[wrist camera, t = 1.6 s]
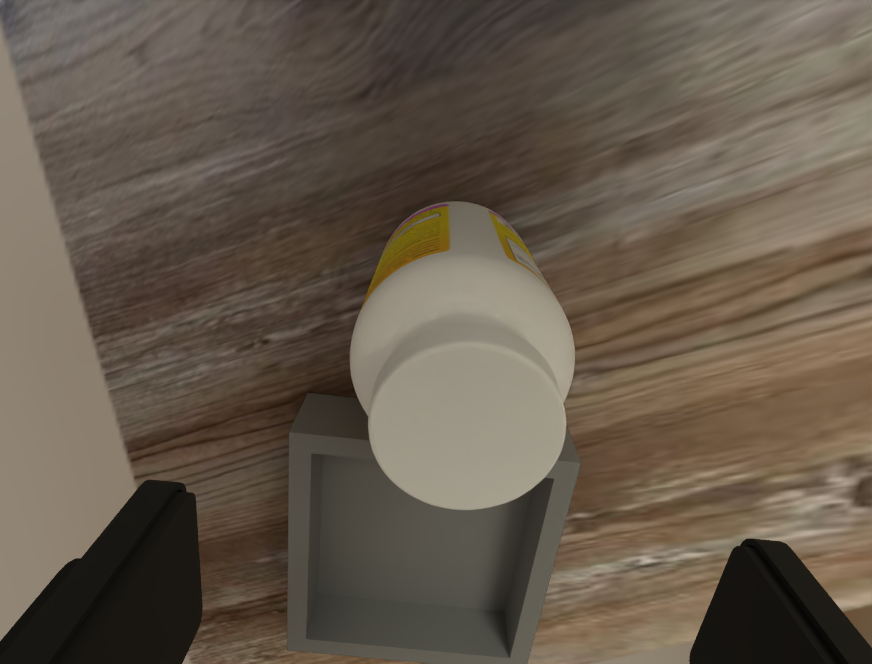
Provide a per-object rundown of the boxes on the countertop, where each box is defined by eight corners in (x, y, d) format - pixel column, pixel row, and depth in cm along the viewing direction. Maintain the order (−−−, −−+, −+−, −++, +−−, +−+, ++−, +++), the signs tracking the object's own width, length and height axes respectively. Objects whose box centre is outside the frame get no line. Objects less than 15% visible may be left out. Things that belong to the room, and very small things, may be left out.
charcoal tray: (307, 392, 27) (289, 432, 24) (564, 420, 27) (581, 462, 24) (302, 595, 32) (287, 650, 29) (517, 616, 33) (524, 672, 29)
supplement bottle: (369, 324, 25) (303, 516, 14) (396, 182, 23) (344, 267, 11) (506, 352, 26) (559, 563, 14) (548, 217, 23) (653, 335, 11)
